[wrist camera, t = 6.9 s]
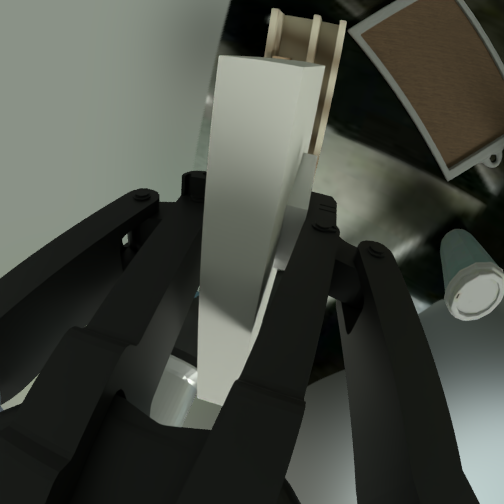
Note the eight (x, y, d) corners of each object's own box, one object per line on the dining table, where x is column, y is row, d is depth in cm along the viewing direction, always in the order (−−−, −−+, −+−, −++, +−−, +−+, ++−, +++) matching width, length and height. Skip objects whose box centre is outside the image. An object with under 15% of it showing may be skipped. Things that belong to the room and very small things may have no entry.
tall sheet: (299, 191, 30) (234, 409, 12) (282, 188, 30) (197, 398, 12) (325, 65, 23) (304, 67, 5) (306, 61, 23) (219, 55, 5)
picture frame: (444, -26, 25) (537, 142, 34) (440, -24, 26) (532, 140, 35) (347, 30, 35) (454, 195, 44) (346, 31, 36) (451, 191, 45)
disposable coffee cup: (488, 226, 45) (521, 278, 33) (466, 274, 52) (488, 330, 40) (440, 211, 47) (468, 263, 35) (420, 263, 53) (436, 322, 41)
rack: (314, 175, 50) (310, 192, 44) (257, 162, 51) (246, 177, 45) (344, 27, 36) (346, 21, 30) (280, 15, 37) (272, 8, 31)
